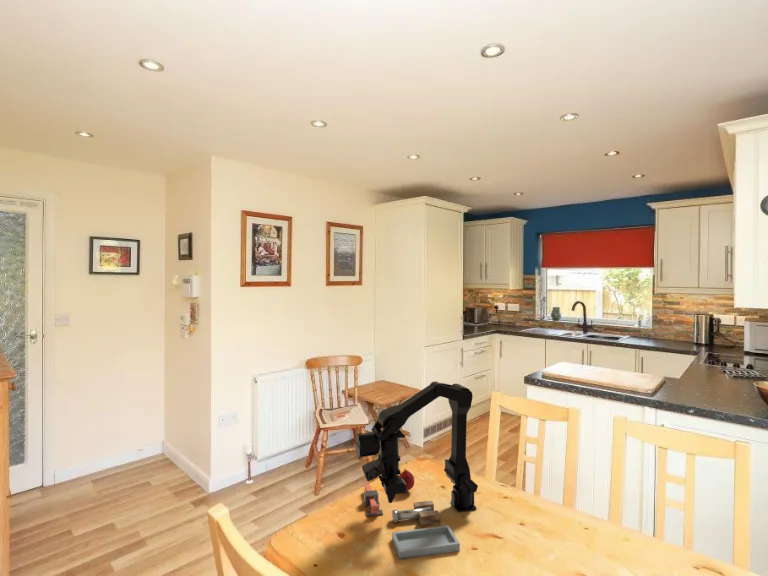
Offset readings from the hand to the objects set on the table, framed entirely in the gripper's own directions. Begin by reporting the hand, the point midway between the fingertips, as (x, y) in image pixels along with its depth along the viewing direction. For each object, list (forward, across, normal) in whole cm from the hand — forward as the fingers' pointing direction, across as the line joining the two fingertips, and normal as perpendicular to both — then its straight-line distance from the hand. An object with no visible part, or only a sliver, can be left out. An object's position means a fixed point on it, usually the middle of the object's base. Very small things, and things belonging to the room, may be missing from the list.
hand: (390, 502), depth 125 cm
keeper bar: (+5, -10, -4) cm, 12 cm away
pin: (+6, +2, +7) cm, 9 cm away
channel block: (+6, +1, +11) cm, 13 cm away
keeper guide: (+5, -7, -4) cm, 10 cm away
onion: (+6, -16, +9) cm, 19 cm away
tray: (+5, +14, +7) cm, 16 cm away
